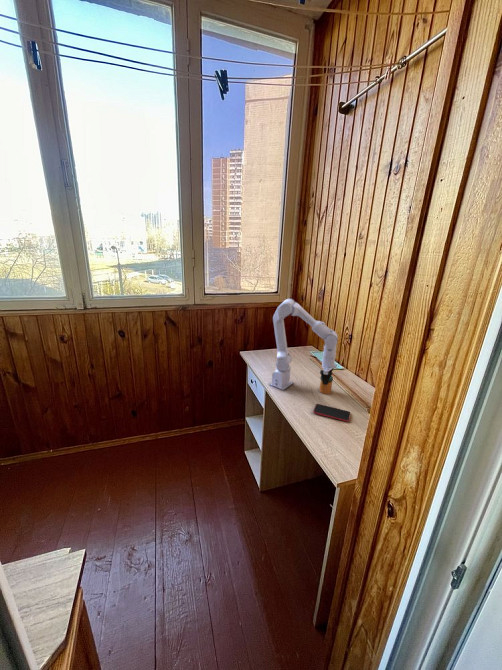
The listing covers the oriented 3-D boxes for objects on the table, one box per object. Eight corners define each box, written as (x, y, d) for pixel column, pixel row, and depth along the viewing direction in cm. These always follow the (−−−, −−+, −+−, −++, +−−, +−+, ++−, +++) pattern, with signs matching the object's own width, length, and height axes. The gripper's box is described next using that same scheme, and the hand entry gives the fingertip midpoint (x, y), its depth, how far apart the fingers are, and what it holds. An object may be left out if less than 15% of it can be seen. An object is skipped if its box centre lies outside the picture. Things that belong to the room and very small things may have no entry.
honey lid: (335, 379, 144) (335, 377, 144) (328, 383, 140) (329, 381, 140) (324, 375, 148) (324, 373, 148) (318, 379, 144) (318, 376, 143)
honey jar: (328, 395, 142) (329, 382, 140) (317, 391, 146) (319, 378, 143) (332, 390, 147) (334, 377, 144) (322, 387, 150) (323, 374, 147)
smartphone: (348, 421, 122) (312, 411, 127) (348, 422, 122) (312, 413, 127) (350, 411, 128) (316, 403, 134) (350, 413, 128) (316, 404, 134)
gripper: (335, 363, 132) (332, 390, 137) (339, 352, 145) (336, 376, 149) (320, 360, 135) (317, 387, 139) (325, 349, 147) (322, 374, 152)
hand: (326, 381), depth 144 cm, fingers closed on honey lid, 6 cm apart
